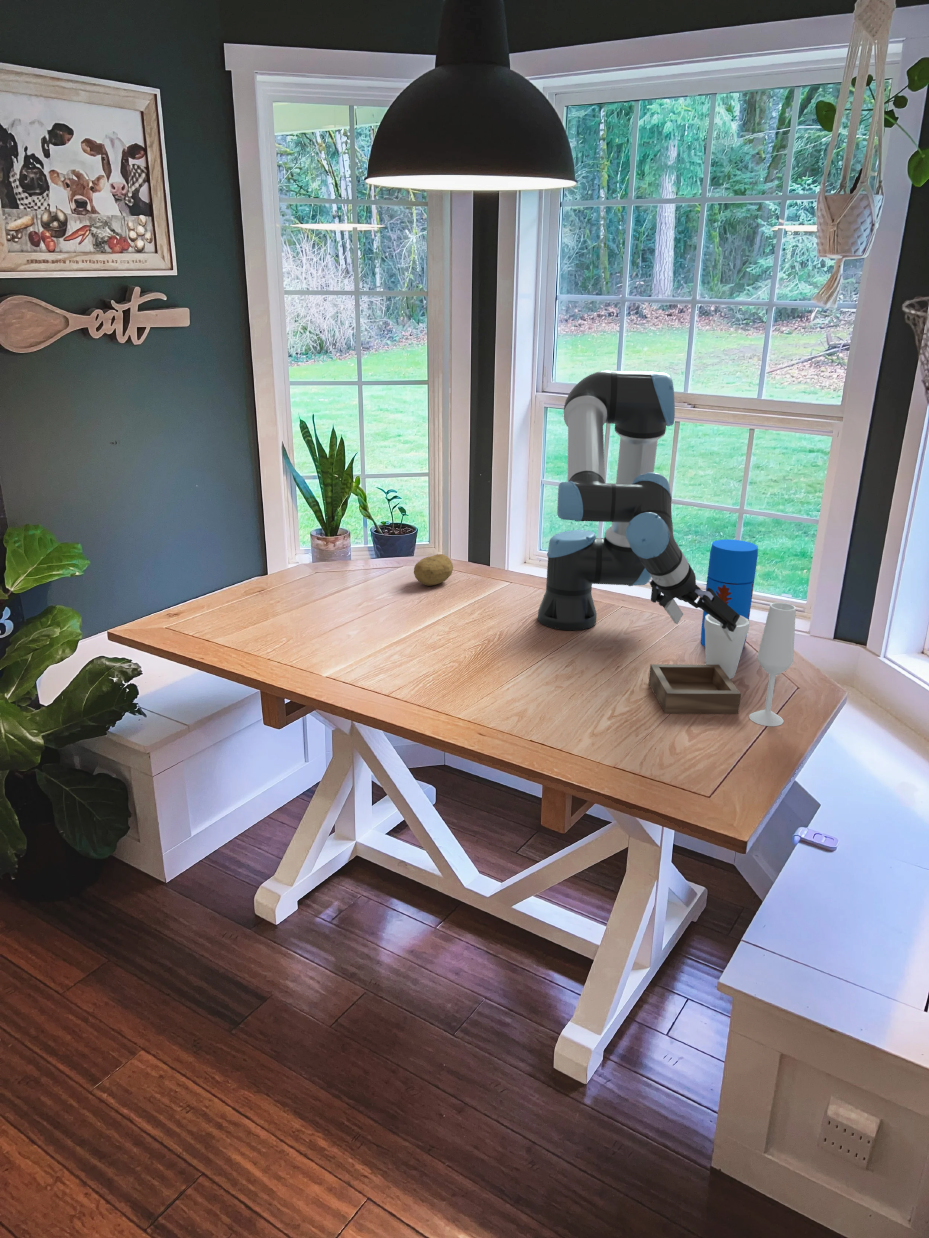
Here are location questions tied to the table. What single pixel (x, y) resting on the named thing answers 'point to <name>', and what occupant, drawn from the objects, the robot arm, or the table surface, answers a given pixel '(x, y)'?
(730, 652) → the foam cup
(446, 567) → the potato
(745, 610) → the thermos
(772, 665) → the champagne flute
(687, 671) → the square wooden tray
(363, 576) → the table surface
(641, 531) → the robot arm
